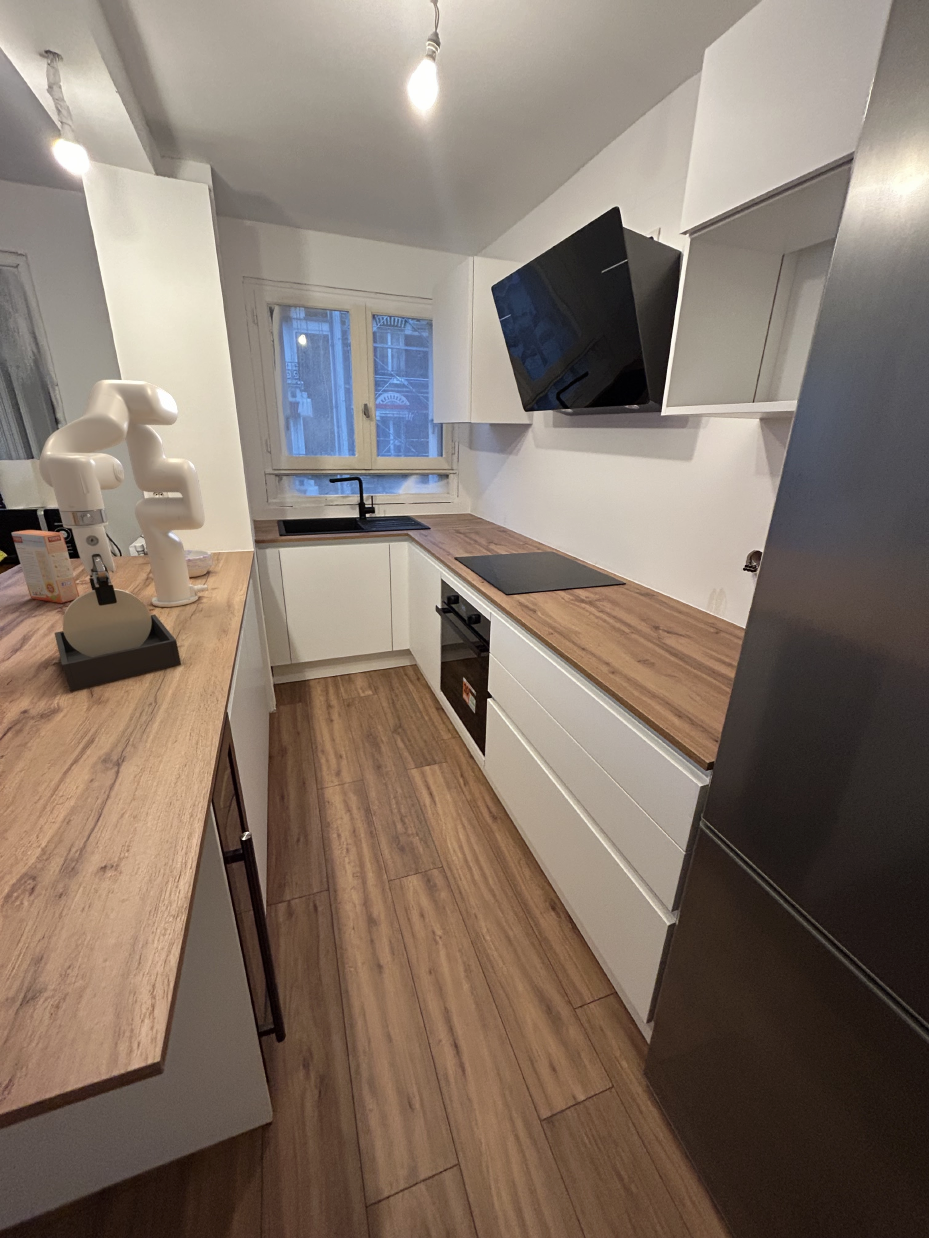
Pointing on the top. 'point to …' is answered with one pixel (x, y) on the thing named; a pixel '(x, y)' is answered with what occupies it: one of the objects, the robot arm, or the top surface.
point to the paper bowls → (198, 562)
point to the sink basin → (118, 659)
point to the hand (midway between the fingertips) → (105, 598)
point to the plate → (106, 624)
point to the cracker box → (46, 565)
